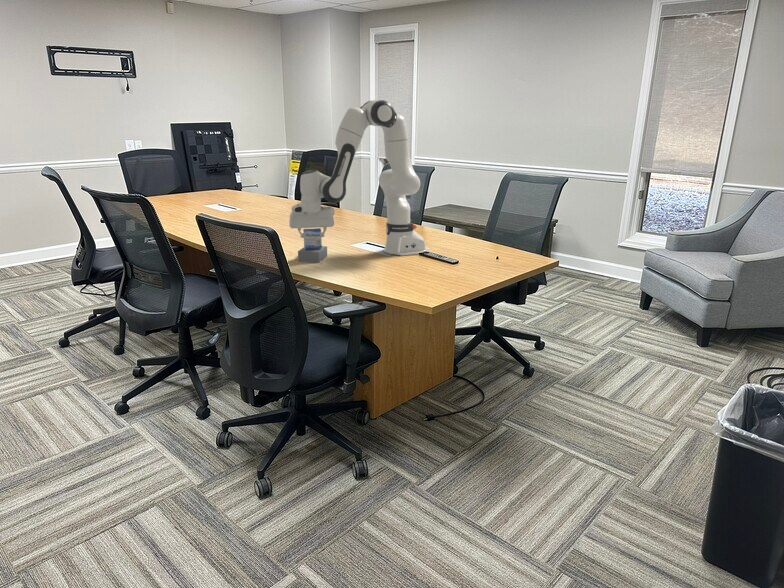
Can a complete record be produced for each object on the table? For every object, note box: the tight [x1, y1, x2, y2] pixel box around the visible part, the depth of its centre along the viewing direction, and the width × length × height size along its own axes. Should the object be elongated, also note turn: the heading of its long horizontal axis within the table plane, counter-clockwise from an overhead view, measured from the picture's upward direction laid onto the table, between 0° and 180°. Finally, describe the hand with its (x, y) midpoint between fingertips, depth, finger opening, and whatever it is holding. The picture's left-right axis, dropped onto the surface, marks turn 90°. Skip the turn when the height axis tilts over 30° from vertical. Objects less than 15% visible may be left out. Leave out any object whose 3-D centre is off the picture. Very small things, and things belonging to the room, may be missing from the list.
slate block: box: [297, 245, 328, 263], centre depth 253 cm, size 10×12×5 cm
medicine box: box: [302, 227, 323, 249], centre depth 250 cm, size 8×4×9 cm, turn 103°
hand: (312, 237), depth 250 cm, fingers closed on medicine box, 8 cm apart
